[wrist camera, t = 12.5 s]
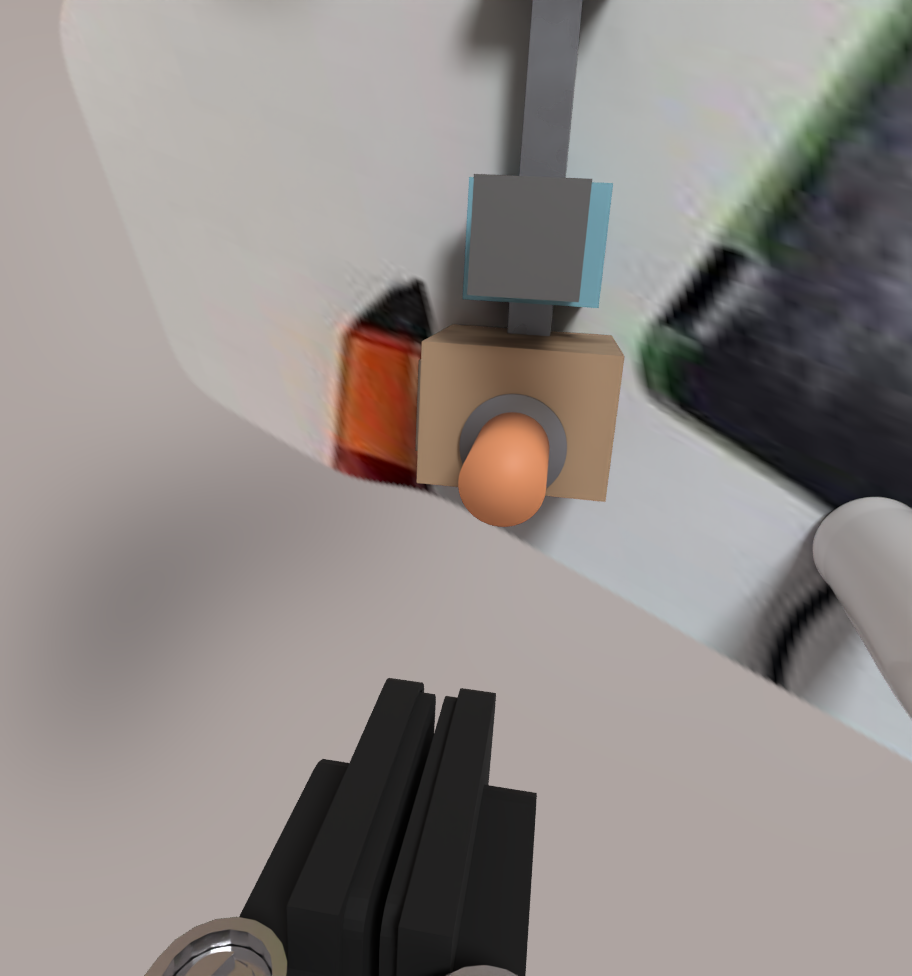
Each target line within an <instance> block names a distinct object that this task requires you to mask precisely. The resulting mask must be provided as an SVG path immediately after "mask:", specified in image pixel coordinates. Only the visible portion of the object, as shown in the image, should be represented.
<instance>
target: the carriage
mask: <svg viewBox="0 0 912 976" xmlns="http://www.w3.org/2000/svg"><path fill="white" fill-rule="evenodd" d="M612 188H613V183H594V182H592V179H581V178H557V177H533V176H509V175H485V174H474V177H469V191H468V210H467V228H466V246H465V264H464V282H463V299H468V300H483V301H499V302H514V303H529V304H545V305H560V306H575V307H591V308H599V299H600V291H601V282H602V274H603V265H604V256H605V248H606V239H607V231H608V222H609V214H610V205H611V197H612Z"/></svg>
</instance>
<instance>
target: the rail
mask: <svg viewBox="0 0 912 976" xmlns="http://www.w3.org/2000/svg"><path fill="white" fill-rule="evenodd" d="M582 4H583V0H533V4H532V17H531V30H530V43H529V56H528V69H527V82H526V95H525V108H524V121H523V134H522V148H521V161H520V174H519V176H533V177H557V178H566V170H567V160H568V150H569V139H570V129H571V118H572V108H573V98H574V87H575V77H576V67H577V56H578V46H579V36H580V25H581V15H582ZM552 315H553V305H545V304H529V303H514V302H510V304H509V317H508V330H507V333H510V334H524V335H539V336H550V333H551V326H552Z"/></svg>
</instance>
